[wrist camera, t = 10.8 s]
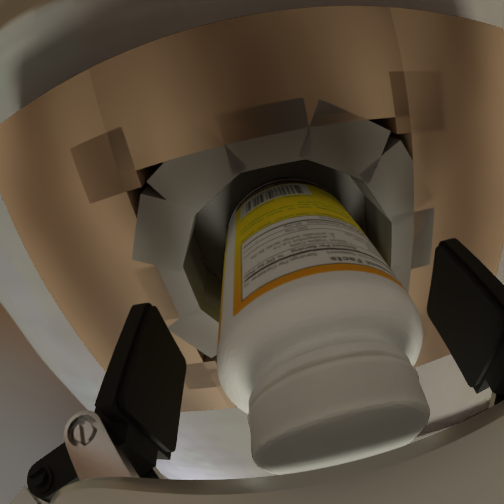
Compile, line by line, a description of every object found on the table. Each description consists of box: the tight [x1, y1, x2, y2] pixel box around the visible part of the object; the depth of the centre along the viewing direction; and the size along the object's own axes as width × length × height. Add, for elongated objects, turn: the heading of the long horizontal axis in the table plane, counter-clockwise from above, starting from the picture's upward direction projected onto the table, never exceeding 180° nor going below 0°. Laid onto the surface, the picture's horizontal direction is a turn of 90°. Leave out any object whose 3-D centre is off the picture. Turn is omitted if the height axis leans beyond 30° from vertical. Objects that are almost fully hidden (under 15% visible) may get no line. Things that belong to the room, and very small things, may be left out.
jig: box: [0, 6, 504, 412], centre depth 13 cm, size 22×18×3 cm
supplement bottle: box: [217, 179, 430, 475], centre depth 10 cm, size 6×6×10 cm
